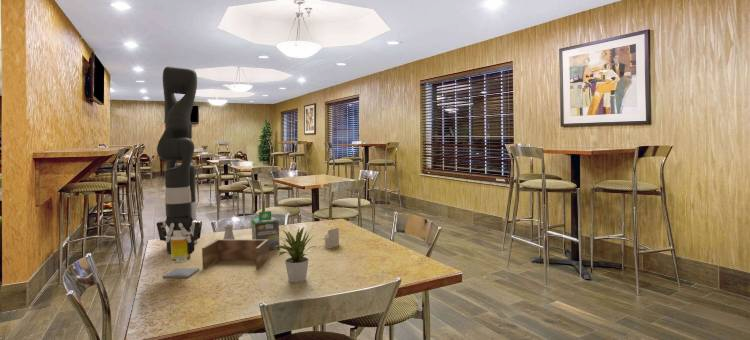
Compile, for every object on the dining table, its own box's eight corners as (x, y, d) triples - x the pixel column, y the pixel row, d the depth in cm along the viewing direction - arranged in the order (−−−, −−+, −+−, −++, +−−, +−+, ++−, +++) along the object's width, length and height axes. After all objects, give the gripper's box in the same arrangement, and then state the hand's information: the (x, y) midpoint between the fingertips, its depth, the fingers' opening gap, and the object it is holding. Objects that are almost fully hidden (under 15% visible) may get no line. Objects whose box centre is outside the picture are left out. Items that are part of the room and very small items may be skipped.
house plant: (279, 271, 141) (278, 221, 140) (322, 271, 140) (321, 221, 139) (267, 286, 127) (266, 231, 125) (314, 286, 126) (313, 231, 125)
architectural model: (322, 247, 172) (322, 228, 171) (335, 243, 177) (334, 225, 176) (328, 248, 169) (328, 230, 169) (341, 245, 175) (340, 227, 174)
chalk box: (274, 244, 176) (273, 208, 175) (280, 249, 168) (279, 211, 167) (251, 247, 172) (250, 210, 171) (256, 252, 164) (254, 213, 163)
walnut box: (202, 268, 144) (201, 248, 144) (217, 258, 156) (216, 239, 156) (259, 268, 143) (258, 248, 143) (269, 258, 155) (268, 239, 155)
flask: (233, 254, 162) (232, 227, 162) (215, 253, 164) (214, 227, 163) (242, 249, 169) (241, 223, 169) (225, 248, 171) (224, 223, 170)
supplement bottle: (191, 262, 137) (189, 230, 136) (171, 264, 135) (170, 232, 134) (190, 257, 142) (188, 227, 141) (171, 260, 140) (169, 228, 139)
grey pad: (162, 278, 135) (162, 276, 135) (175, 270, 143) (175, 268, 143) (188, 278, 135) (187, 276, 135) (199, 270, 143) (199, 268, 143)
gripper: (205, 199, 141) (207, 250, 142) (162, 199, 141) (164, 250, 142) (195, 202, 133) (197, 256, 134) (149, 202, 134) (152, 256, 135)
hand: (180, 253), depth 138 cm, fingers closed on supplement bottle, 5 cm apart
